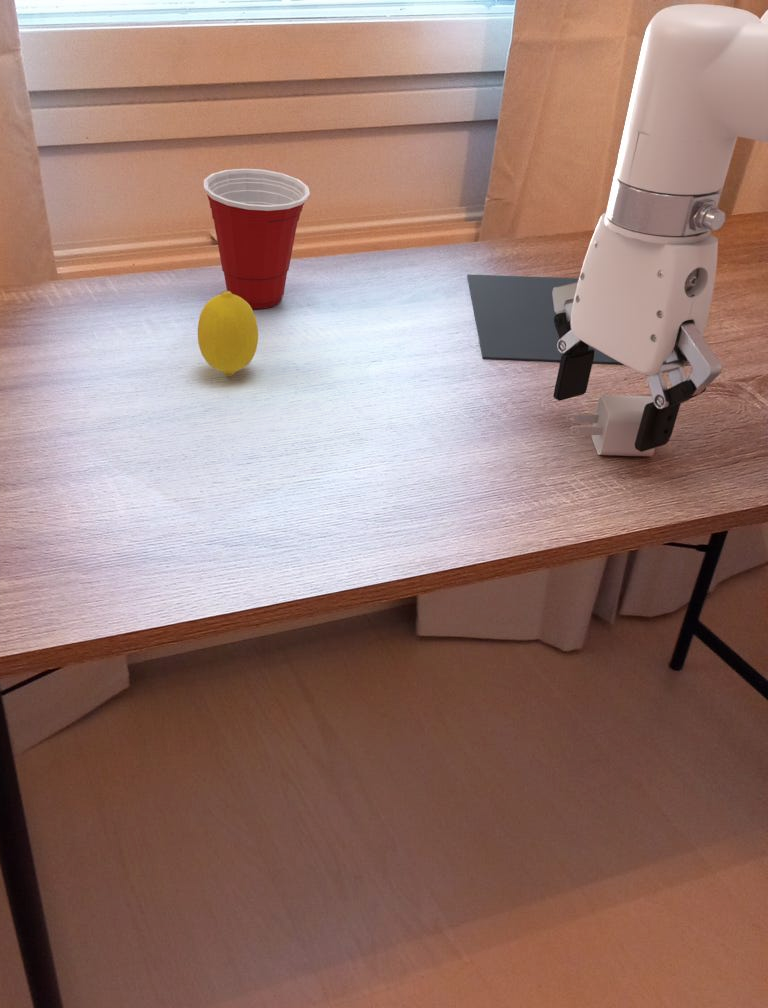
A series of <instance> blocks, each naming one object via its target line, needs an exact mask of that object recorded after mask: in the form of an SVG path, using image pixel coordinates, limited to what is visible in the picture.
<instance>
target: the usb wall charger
mask: <svg viewBox="0 0 768 1008" xmlns="http://www.w3.org/2000/svg"><path fill="white" fill-rule="evenodd" d="M651 402H653V399H652V396H644V395H613V394H612V395H611V394H610V395H609V394H607V395H606V394H601V395H599V396H598V400H597V405H596V409H595V413H594V414H592V413H590V414H589V413H571V414H570V413H569V414H567V415H566V419H565V422H566V423H575V424H592V425H571V427H570V431H569V434H570V435H579V436H591V439H592V442H593V445H594V448H595V450H596V453H597V455H598V456H623V457H624V456H625V457H653V456H654V453H655V450H656V448H653V449H649V450H646V451H643V452H640V451H639V450H637V449H636V448H635V441H636V437H637V433H638V430H639V426H640V422H641V419H642V415H643V411H644V408H645V406H646V404H648V403H651ZM570 417H573V419H572V420H571V419H570ZM575 429H578V430H577V431H574V430H575Z"/></svg>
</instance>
